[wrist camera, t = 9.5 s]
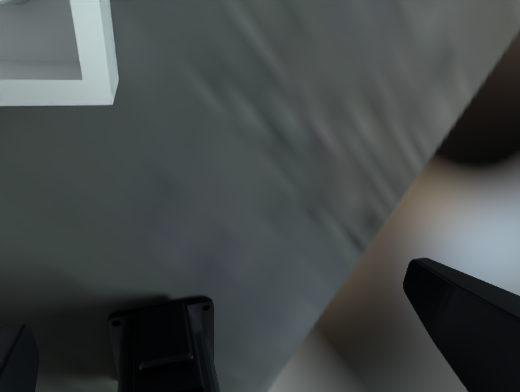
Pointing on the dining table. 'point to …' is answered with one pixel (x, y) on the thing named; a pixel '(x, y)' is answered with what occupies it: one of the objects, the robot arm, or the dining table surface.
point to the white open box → (57, 53)
